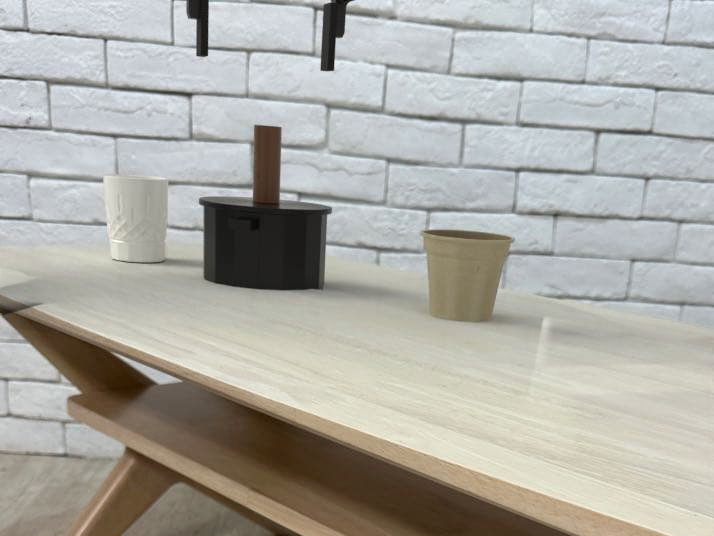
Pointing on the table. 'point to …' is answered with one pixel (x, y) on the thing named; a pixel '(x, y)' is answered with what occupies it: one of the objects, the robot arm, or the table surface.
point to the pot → (264, 249)
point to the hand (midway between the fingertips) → (266, 64)
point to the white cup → (136, 216)
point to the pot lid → (266, 182)
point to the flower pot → (464, 272)
